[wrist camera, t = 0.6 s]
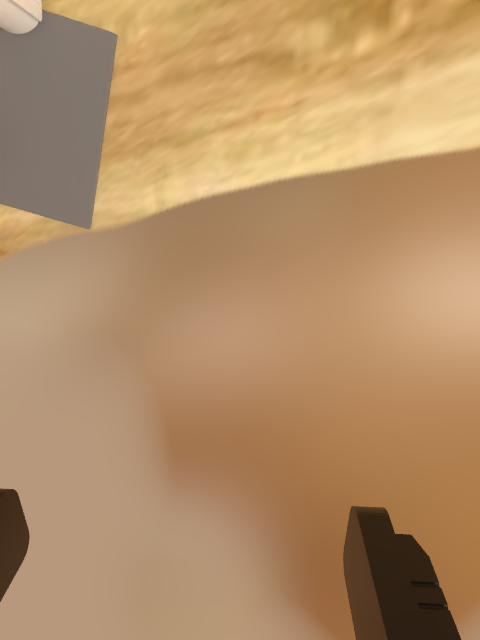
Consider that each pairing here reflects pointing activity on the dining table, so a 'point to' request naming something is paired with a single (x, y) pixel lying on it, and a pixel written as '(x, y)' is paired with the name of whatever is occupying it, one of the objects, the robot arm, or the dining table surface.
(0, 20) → the photo printer
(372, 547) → the robot arm
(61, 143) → the gray mat
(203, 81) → the dining table surface
